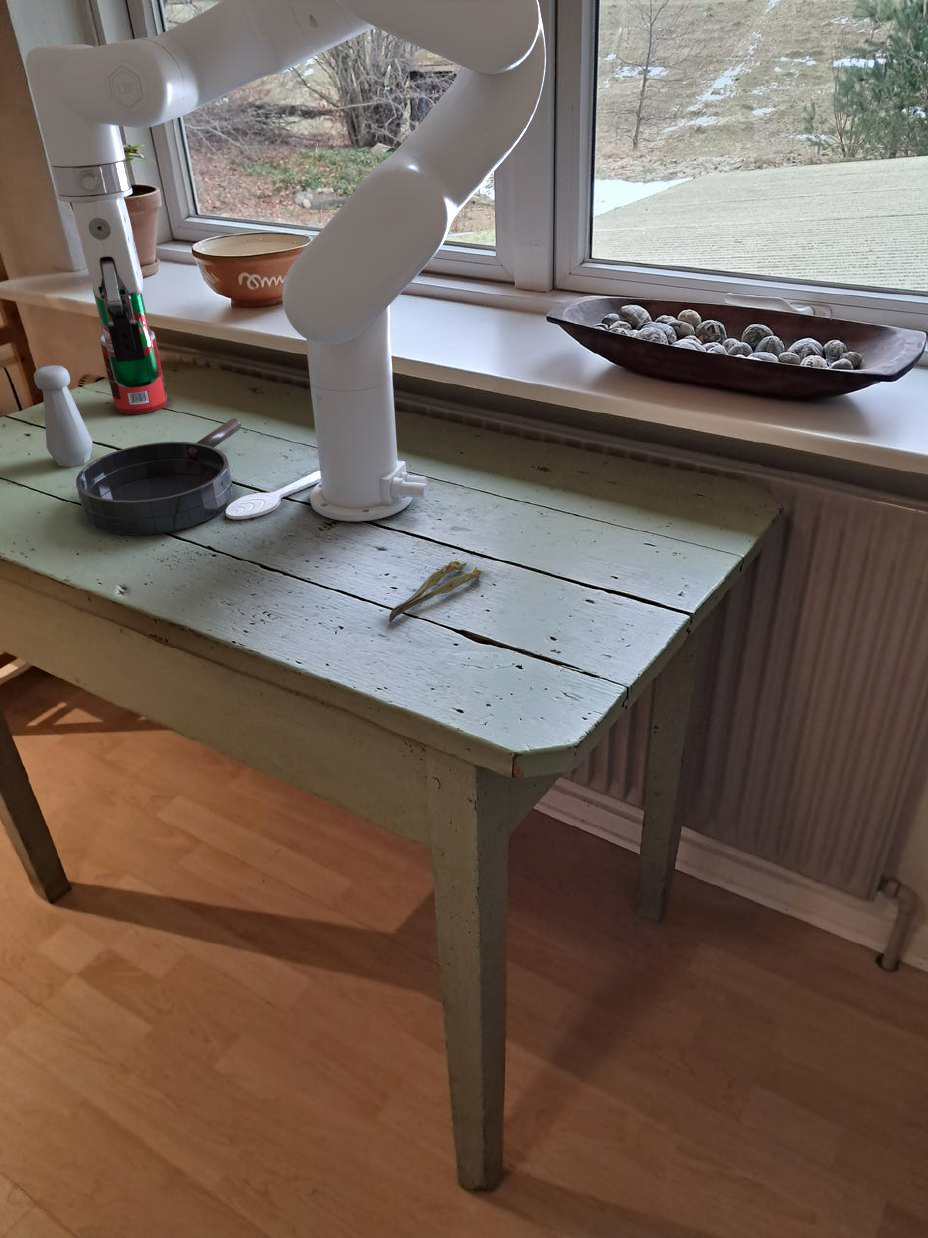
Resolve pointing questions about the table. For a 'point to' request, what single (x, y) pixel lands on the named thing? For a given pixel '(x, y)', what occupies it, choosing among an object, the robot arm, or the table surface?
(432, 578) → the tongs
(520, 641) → the table surface
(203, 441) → the pan handle
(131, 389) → the canned food
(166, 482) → the pan
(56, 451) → the salt shaker
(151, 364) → the soda can
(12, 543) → the table surface
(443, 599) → the table surface
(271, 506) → the spoon
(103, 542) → the table surface
